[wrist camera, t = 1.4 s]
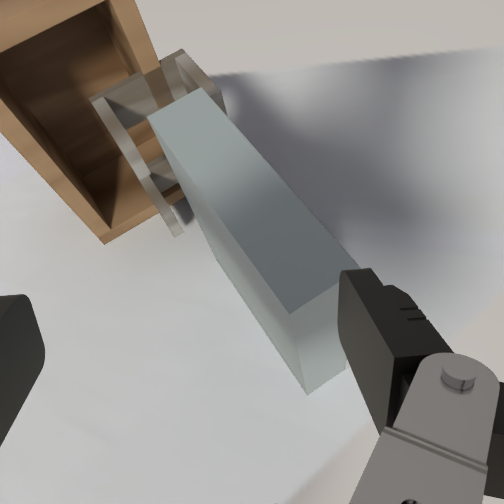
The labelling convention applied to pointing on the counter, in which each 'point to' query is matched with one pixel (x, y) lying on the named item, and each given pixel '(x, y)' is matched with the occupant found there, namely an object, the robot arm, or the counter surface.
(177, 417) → the counter surface
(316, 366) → the door
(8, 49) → the cabinet
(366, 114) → the counter surface
